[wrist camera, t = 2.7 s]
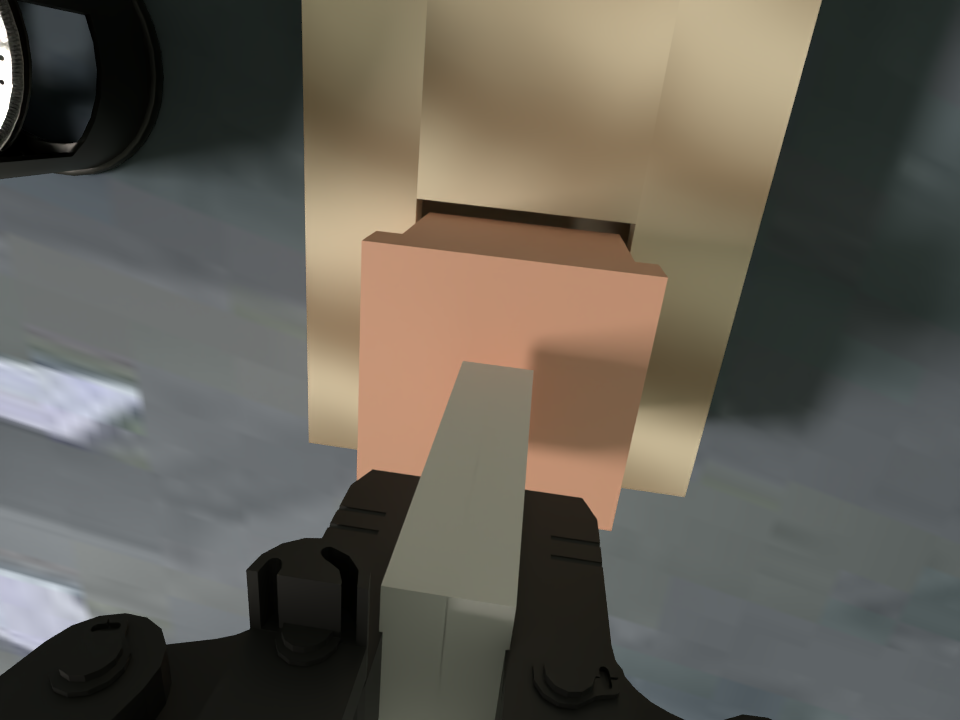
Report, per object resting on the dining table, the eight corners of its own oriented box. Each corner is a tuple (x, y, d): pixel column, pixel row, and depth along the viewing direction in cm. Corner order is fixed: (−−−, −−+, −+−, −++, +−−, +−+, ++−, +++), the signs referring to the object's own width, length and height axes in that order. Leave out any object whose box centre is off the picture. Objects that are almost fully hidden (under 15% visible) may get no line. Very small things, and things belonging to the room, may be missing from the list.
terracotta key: (420, 201, 19) (361, 240, 13) (631, 225, 18) (668, 277, 13) (410, 389, 21) (356, 493, 16) (594, 414, 21) (611, 530, 15)
